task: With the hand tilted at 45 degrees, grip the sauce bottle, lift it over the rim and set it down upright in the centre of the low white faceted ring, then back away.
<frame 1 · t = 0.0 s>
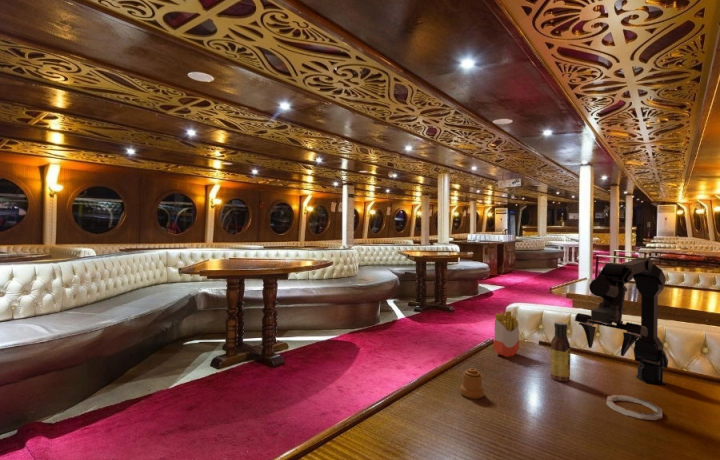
hand: (605, 351, 120), 15 cm above the table, tool pointing down, fingers open, 9 cm apart
sauce bottle: (559, 379, 137), on the table
white faceted ring: (633, 408, 115), on the table
ornamental finial: (471, 395, 121), on the table
french fries container: (506, 355, 164), on the table
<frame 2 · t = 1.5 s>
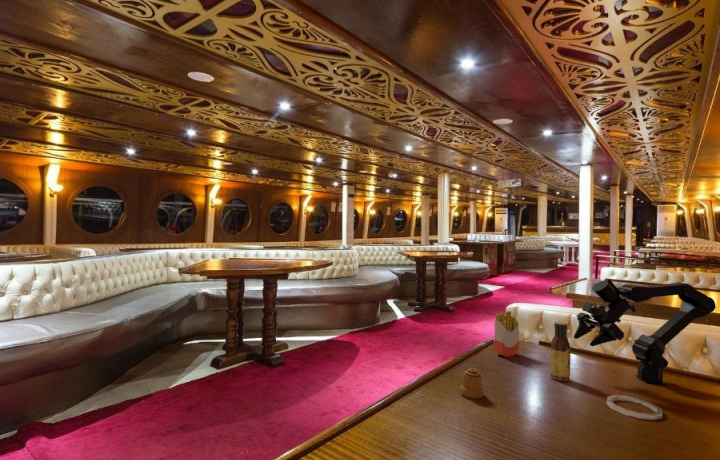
hand: (582, 341, 138), 13 cm above the table, tool tilted 45°, fingers open, 9 cm apart
nothing on the table moved.
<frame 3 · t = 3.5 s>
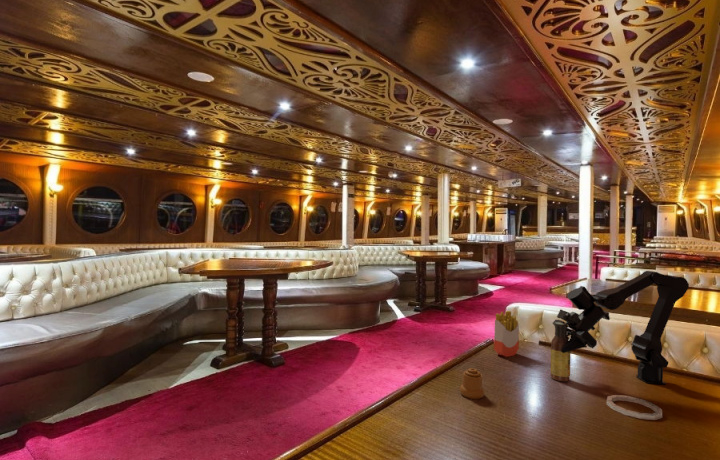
hand: (556, 349, 137), 11 cm above the table, tool tilted 45°, fingers closed on sauce bottle, 6 cm apart
sauce bottle: (559, 379, 137), on the table, touching gripper
everything else where it was.
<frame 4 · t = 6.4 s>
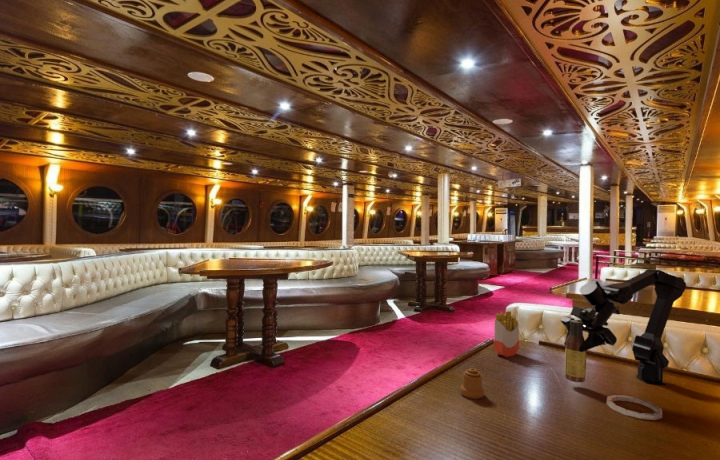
hand: (572, 348, 130), 13 cm above the table, tool tilted 45°, fingers closed on sauce bottle, 6 cm apart
sauce bottle: (574, 379, 130), point 2 cm above the table, touching gripper
everything else where it was.
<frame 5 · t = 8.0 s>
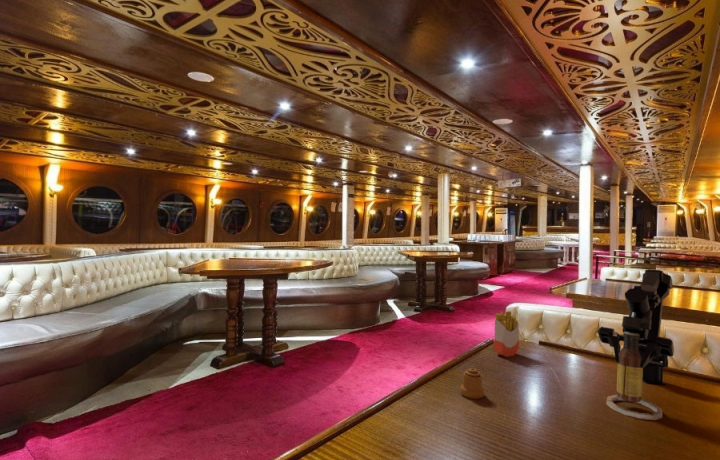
hand: (629, 364, 115), 13 cm above the table, tool tilted 45°, fingers closed on sauce bottle, 6 cm apart
sauce bottle: (627, 399, 116), point 2 cm above the table, touching gripper
everything else where it was.
when the fingers open (12 cm above the table, at t = 9.1 s): sauce bottle drops 1 cm, resting in white faceted ring.
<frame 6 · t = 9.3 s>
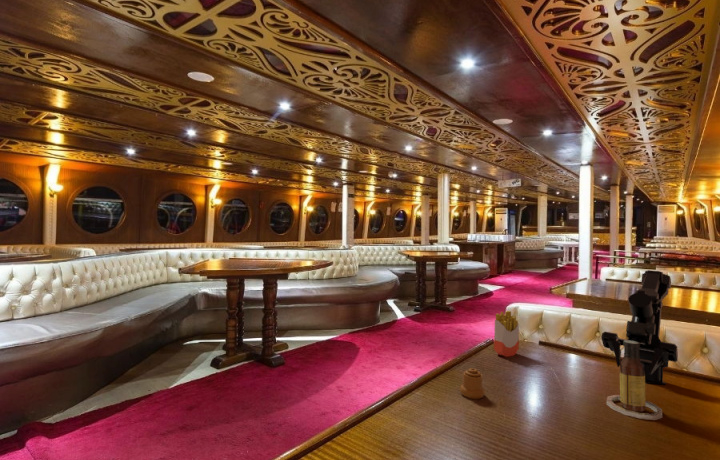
hand: (633, 369, 114), 12 cm above the table, tool tilted 45°, fingers open, 8 cm apart
sauce bottle: (631, 408, 115), resting in white faceted ring
everything else where it was.
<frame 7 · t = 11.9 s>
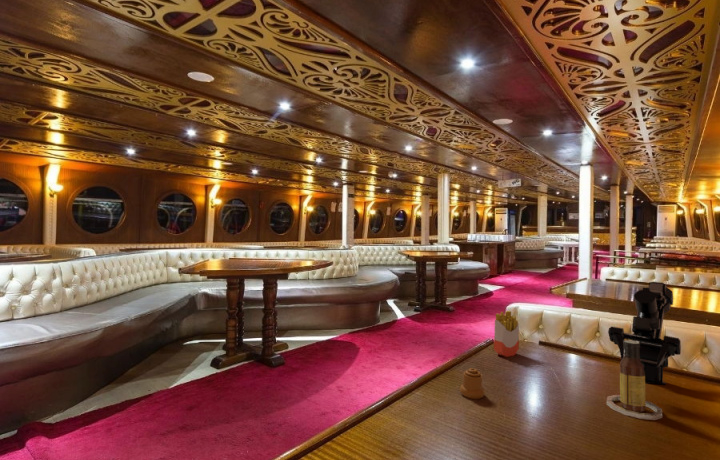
hand: (639, 362, 121), 12 cm above the table, tool tilted 45°, fingers open, 9 cm apart
nothing on the table moved.
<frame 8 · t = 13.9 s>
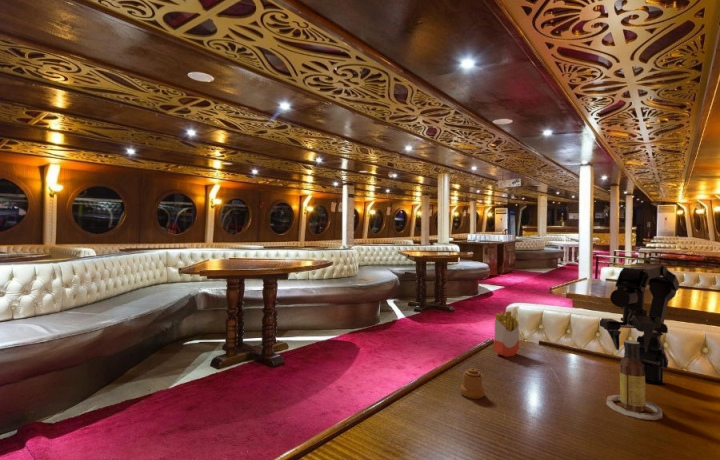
hand: (632, 350, 130), 13 cm above the table, tool pointing down, fingers open, 9 cm apart
nothing on the table moved.
at the end: sauce bottle 0.5 cm off-centre on the white faceted ring, point 0.0 cm above the white faceted ring's base; sauce bottle tilted 0°; the gripper is holding nothing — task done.
